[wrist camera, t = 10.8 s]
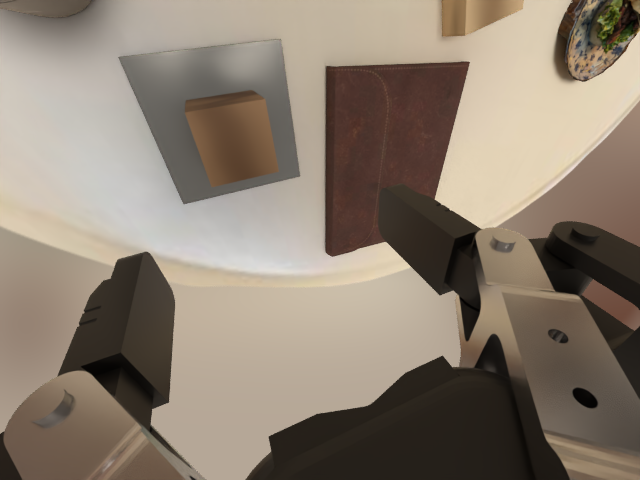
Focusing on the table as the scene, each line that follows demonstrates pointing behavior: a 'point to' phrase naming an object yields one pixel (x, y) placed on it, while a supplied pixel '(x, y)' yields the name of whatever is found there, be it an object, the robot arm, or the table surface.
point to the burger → (598, 34)
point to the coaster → (204, 81)
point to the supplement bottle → (46, 7)
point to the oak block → (474, 14)
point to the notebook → (384, 140)
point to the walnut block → (232, 136)
